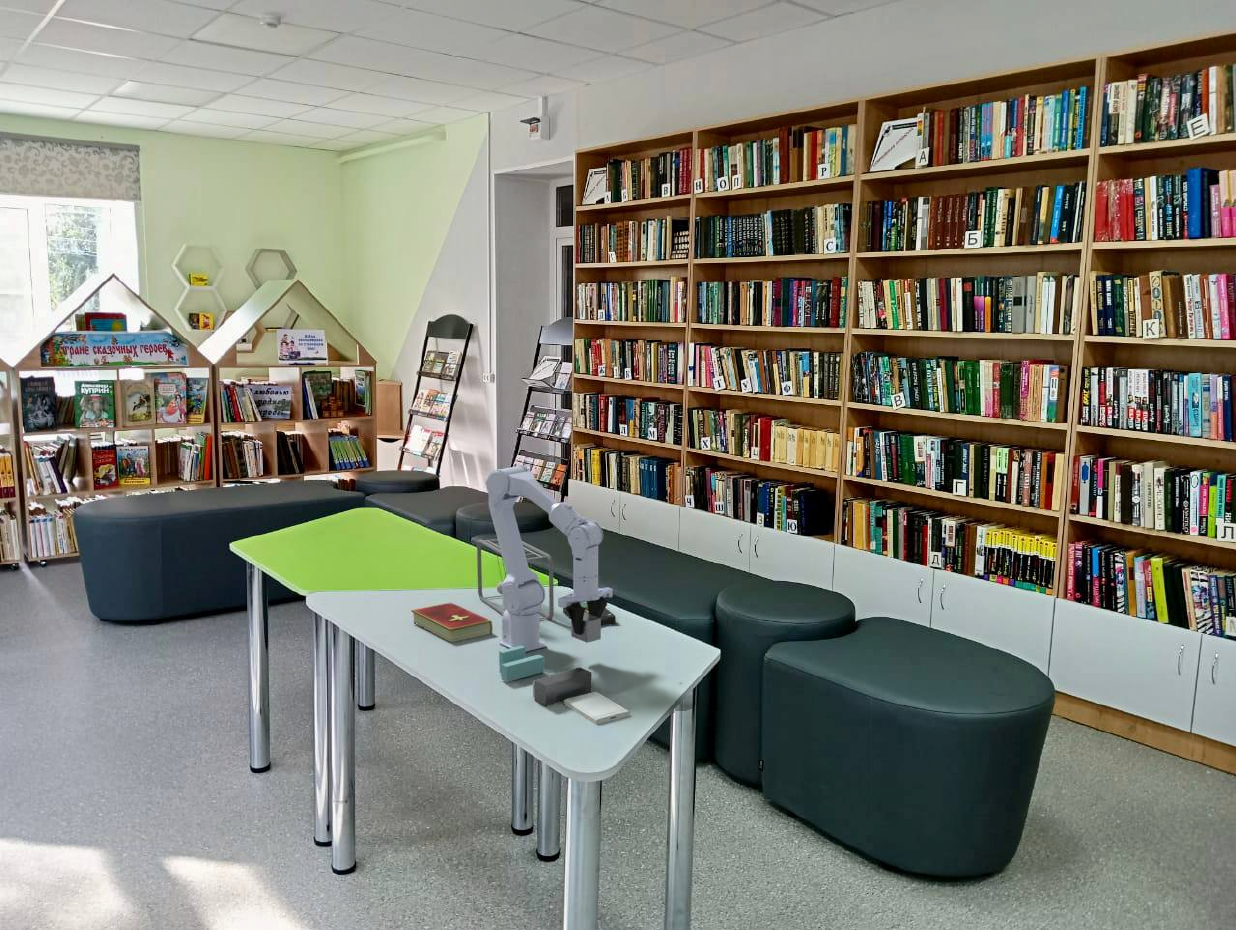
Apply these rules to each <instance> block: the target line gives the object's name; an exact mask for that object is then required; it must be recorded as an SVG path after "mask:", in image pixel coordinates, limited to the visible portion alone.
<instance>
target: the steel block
mask: <svg viewBox="0 0 1236 930" xmlns="http://www.w3.org/2000/svg"><path fill="white" fill-rule="evenodd" d="M570 622H571V621H570ZM570 624H571V626H570V627H571V631H570V635H571V637H572V638H575V639H577V640H579V641H582V642H584V643H587V644H588V643H592V642H594V641H599V640H601V639H602V638H601V637H602V635H601V632H602V630H601V629H602V627H601V618H598V617H596V616H593V615H590V614H588V613H585V612H584V617H583V630H582V635H578V634H576V633H574V629H573V625H572V622H571V623H570Z"/></svg>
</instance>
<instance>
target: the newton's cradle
mask: <svg viewBox="0 0 1236 930" xmlns="http://www.w3.org/2000/svg"><path fill="white" fill-rule="evenodd" d="M494 541H496V542H497V541H498V539H497V538H493V539H486V540H485V539H484V540H483V539H479V540H478V541H477V542H476V543H477V545H476V552H477V554H476V555H477V557H476V558H477V593H478V594H477V595H478V599H480V601H482V602H483V603H484V604H485V605H487V606H489V607H490V608H492V610H494V611H496V612H497V613H498V614H500V615H502V616H503V614H504V612H505V610H503V609H502V608H500V607H499V606H498V605H496V604H494V603H493V602H492V601H490V600H488V599H494V598H501V597H503V590H502V583H503V582H504V580H503V578H502V571H501V567H500V562H499V557H498V554H499V555H500V556H501V561H502V565H503V568H504V569H503V570H504V571H506V568H505V565H504V561H503V557H502V553H501V550H500V546H499V544H497V543H494ZM521 541H522V544H523V548H524V551H526V552H530V554H531V555H532V556H531V557H528V555H529V553H525V555H526V559H527V561H531V562H530V565H532V563H533V560H536V559H537V560H539V559H547V560H548V590H549V591H548V593H549V594H548V595H549V597H548V598H549V599H548V605H549V614H548V613H546V612H545V611H544V610H542V609H539V616H540V615H541V616H542V617H539V621H540V620H544V619H545V620H546V619H547V620H551V621H552V619H553V618H554V614H555V613H554V612H555V610H554V603H555V602H554V599H555V597H554V561H553V557H552V556H551V555H550V554H549V553H547V552H546V551H543V550H541V549H539V548H538V547H534V546H533V545H531V544H529V543H526V542H525V541H523V540H521ZM482 546H485V547H486V548H488V549H489V550H491V551H493V552H495V554H496V558H497V563H498V567H499V574H500V578H501V581H500V582H499V583H497V585H496V591H497V592H498V594H500V595H494V596H486V597H485V596H484V595H483V579H482V577H483V576H482V575H483V573H482V569H483V568H482ZM534 555H535V556H536V557H535V556H534ZM527 557H528V558H527ZM529 567H530V568H529V569H530V570H531V571H532V569H531V568H532V566H529ZM506 577H507V572H504V578H506ZM521 584H523V583H520V584H519V585H521Z"/></svg>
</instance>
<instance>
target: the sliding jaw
mask: <svg viewBox="0 0 1236 930" xmlns="http://www.w3.org/2000/svg"><path fill="white" fill-rule="evenodd" d="M498 652H499V655H498V657H499V661H498V663H499V674H501V680H502V681H504V682H506V683H508V682H511V681H512V682H513V681H516V680H520V679H523V678H526V677H531V676H533V675H538V674H541V673H544V672H545V656H543V655H542V654H535V655H532V656H527V657H526V652H525V647H524V646H518V647H514V648H506V649H501V650H499V651H498Z"/></svg>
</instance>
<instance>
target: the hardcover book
mask: <svg viewBox="0 0 1236 930" xmlns="http://www.w3.org/2000/svg"><path fill="white" fill-rule="evenodd" d="M411 613H413V623H414V622H415V623H417V624H418V626H419V625H420V626H419V627H421V626H422V627H421V628H423V627H424V628H423V629H425V630H426V629H427V631H428V630H429V632H430V631H431V632H430V633H432V634H434V635H436V636H439V637H440V638H442V639H444V640H446V641H448V642H450V643H454V642H460V641H463V640H469V639H472V638H477V637H481V636H485V635H492V634H493V622H492V620H491V619H488V618H486V617H484V616H482V615H480V614H478V613H476V612H472V611H471V610H468V609H466V608H463V607H461V606H460V605H457V604H455V603H453V602H451V601H450V602H446V603H440V604H436V605H429V606H425V607H421V608H416V609H411ZM415 623H414V624H415ZM417 624H416V625H417Z"/></svg>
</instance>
